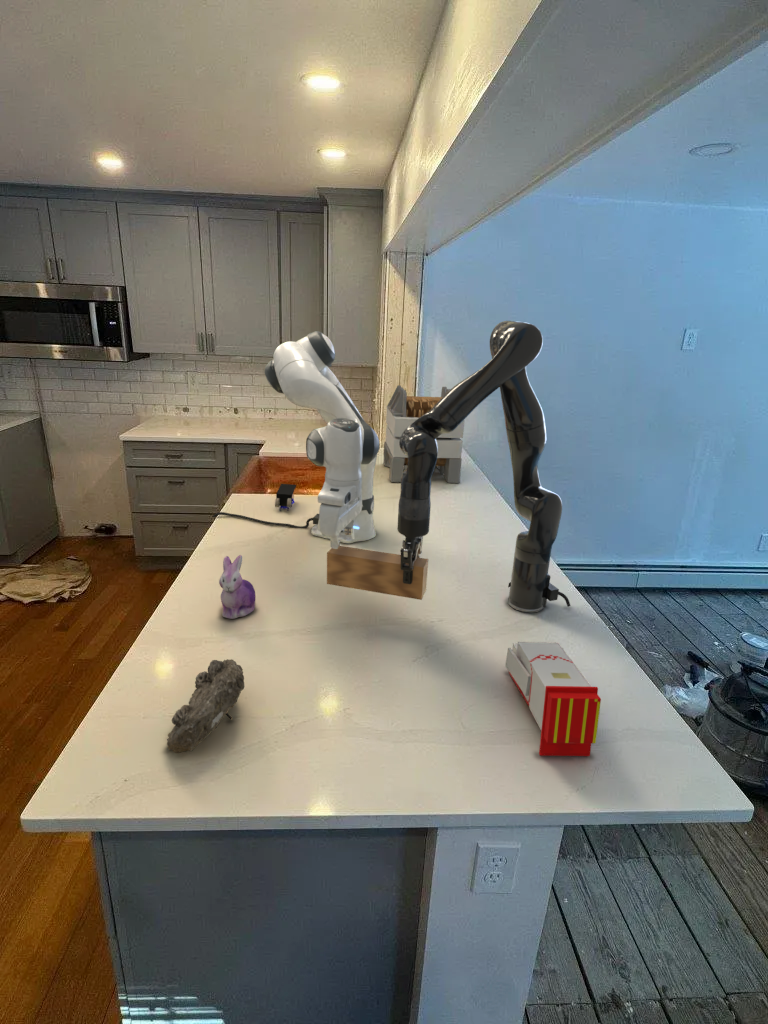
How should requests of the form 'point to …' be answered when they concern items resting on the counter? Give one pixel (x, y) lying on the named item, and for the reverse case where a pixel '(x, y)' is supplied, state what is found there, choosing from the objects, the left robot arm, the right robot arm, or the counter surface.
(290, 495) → the figurine character
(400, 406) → the grey crate
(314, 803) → the counter surface
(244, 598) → the figurine
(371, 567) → the bar
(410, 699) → the counter surface
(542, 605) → the right robot arm
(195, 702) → the fossil
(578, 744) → the toy
